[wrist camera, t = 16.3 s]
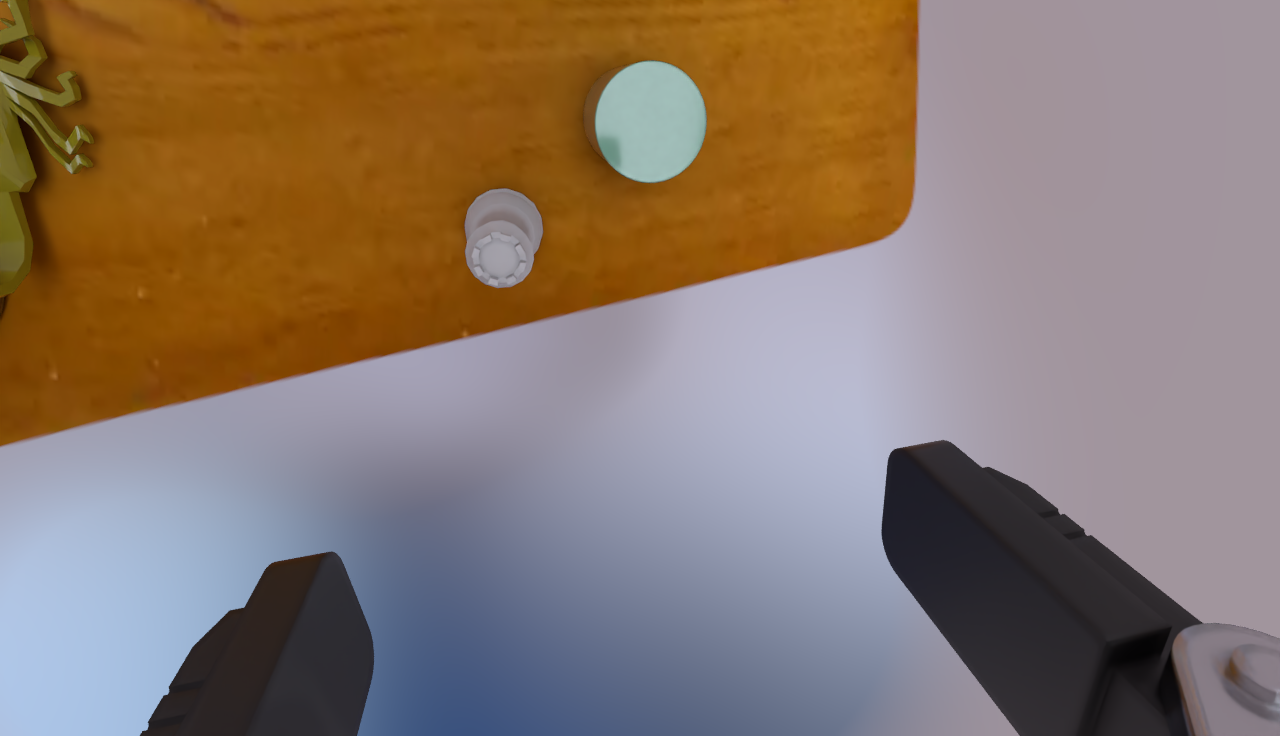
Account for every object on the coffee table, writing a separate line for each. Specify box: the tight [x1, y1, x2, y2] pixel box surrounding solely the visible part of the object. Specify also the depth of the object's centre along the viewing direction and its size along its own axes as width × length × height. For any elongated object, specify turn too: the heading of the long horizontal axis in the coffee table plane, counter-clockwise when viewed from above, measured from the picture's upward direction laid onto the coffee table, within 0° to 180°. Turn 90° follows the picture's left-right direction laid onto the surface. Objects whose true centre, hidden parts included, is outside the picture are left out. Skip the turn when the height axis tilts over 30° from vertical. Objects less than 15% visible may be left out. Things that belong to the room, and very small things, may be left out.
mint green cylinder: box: [583, 60, 707, 183], centre depth 32 cm, size 5×5×6 cm
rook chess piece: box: [465, 189, 543, 288], centre depth 32 cm, size 4×4×8 cm
